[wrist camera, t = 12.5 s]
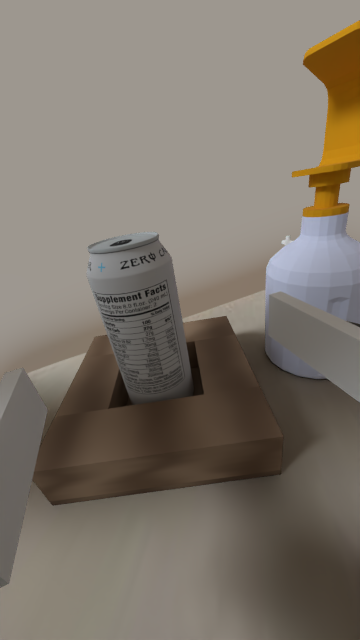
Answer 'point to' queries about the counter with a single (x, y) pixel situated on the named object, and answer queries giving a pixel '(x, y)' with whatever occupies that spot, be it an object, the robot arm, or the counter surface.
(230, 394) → the holder block
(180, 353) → the energy drink can
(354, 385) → the robot arm
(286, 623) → the counter surface
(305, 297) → the soap bottle
